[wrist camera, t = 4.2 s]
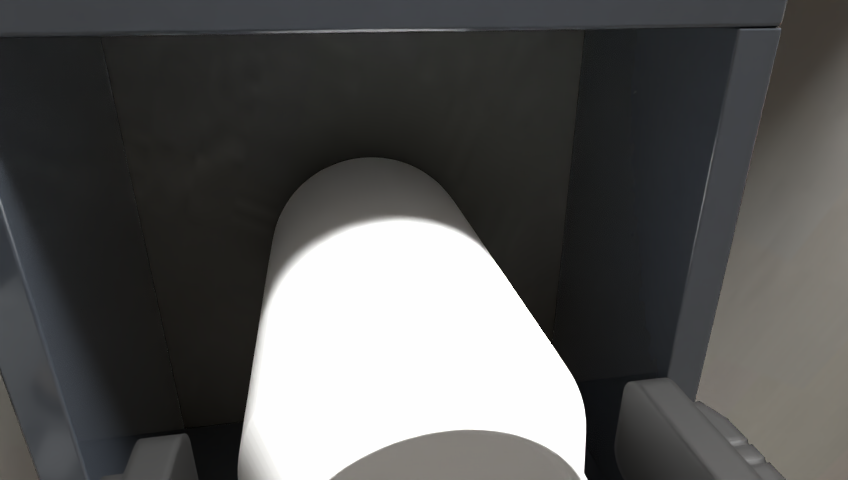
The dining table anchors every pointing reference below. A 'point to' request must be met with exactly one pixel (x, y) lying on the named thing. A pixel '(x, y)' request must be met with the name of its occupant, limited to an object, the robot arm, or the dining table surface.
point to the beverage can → (399, 345)
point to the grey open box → (369, 13)
